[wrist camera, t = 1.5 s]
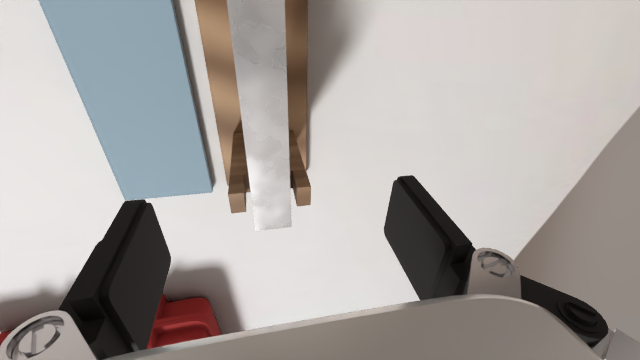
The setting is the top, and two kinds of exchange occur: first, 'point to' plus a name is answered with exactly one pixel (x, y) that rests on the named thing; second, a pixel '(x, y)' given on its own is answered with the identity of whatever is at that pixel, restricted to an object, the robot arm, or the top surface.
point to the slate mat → (135, 91)
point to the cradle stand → (227, 99)
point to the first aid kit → (178, 322)
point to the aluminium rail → (263, 105)
